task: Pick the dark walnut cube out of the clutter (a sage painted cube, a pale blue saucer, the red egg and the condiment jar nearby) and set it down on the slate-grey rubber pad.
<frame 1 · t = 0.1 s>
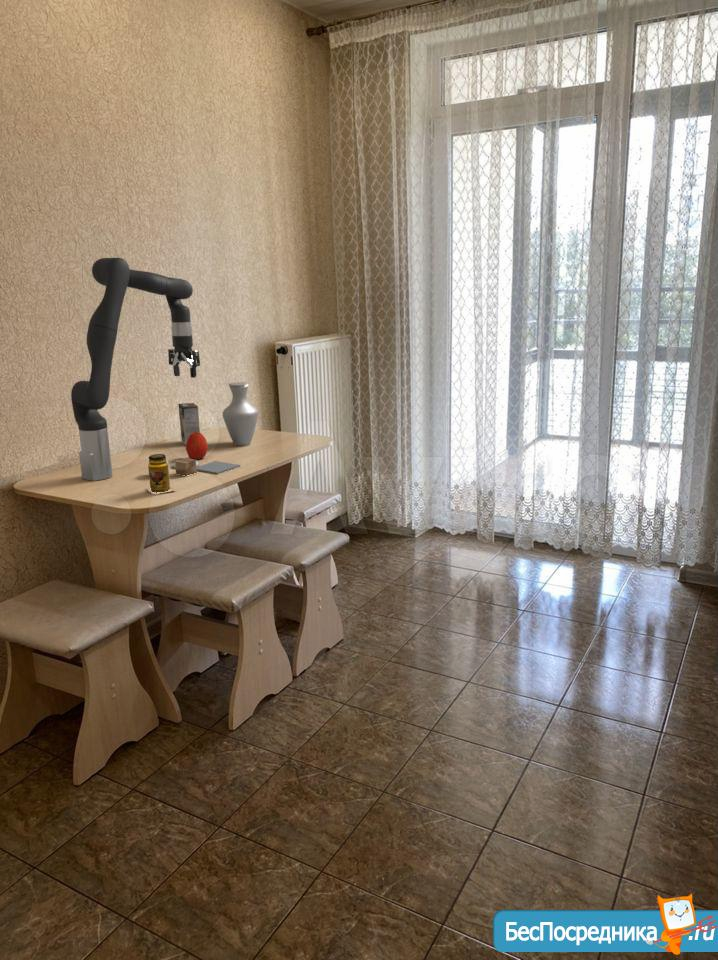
hand: (185, 376, 276), 29 cm above the table, fingers open, 8 cm apart
slate pad: (216, 468, 257), on the table
vase: (242, 444, 294), on the table
saucer: (186, 465, 261), on the table
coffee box: (191, 443, 296), on the table
walnut block: (186, 474, 250), on the table
sage block: (159, 475, 249), on the table
condiment: (160, 491, 231), on the table
red egg: (197, 459, 271), on the table
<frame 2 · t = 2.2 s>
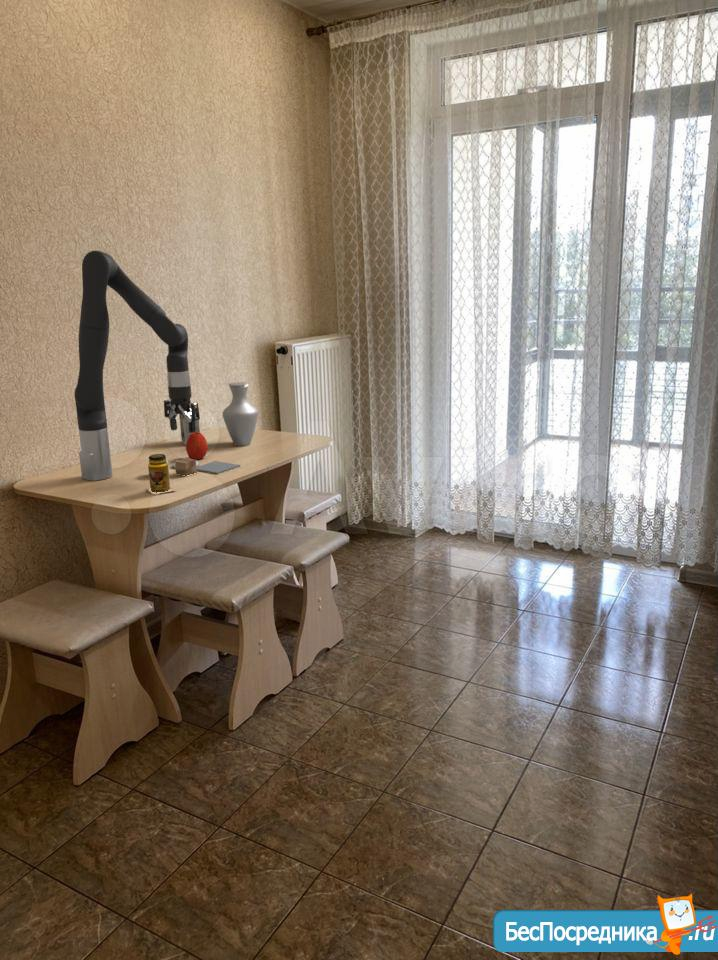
hand: (183, 431, 246), 15 cm above the table, fingers open, 8 cm apart
nothing on the table moved.
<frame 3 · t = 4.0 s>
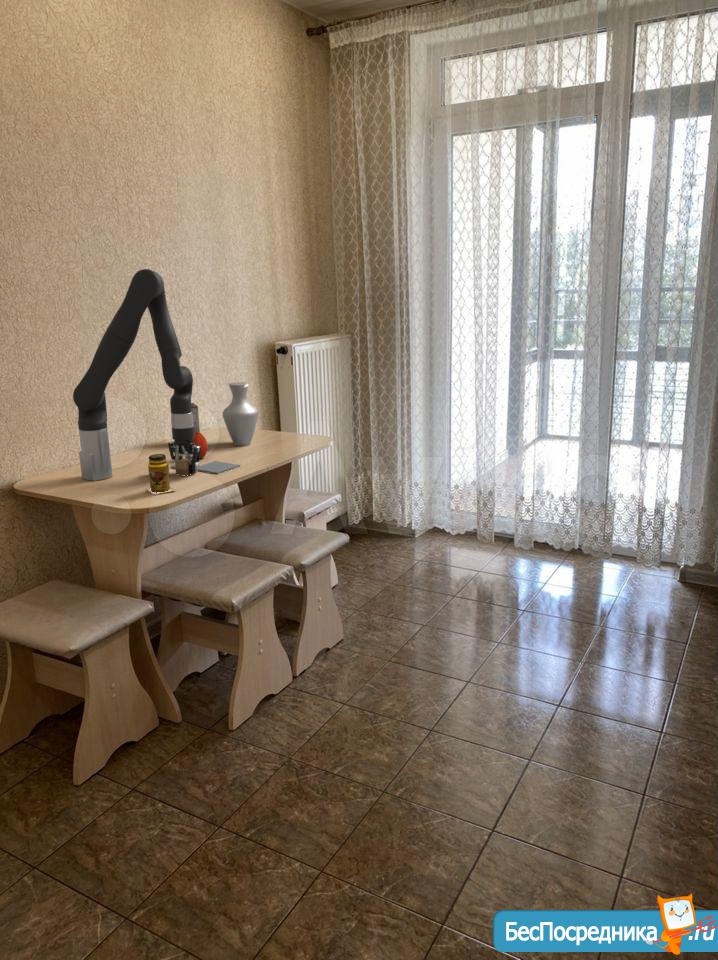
hand: (186, 472, 250), 0 cm above the table, fingers closed on walnut block, 5 cm apart
walnut block: (186, 474, 250), on the table, touching gripper
everything else where it was.
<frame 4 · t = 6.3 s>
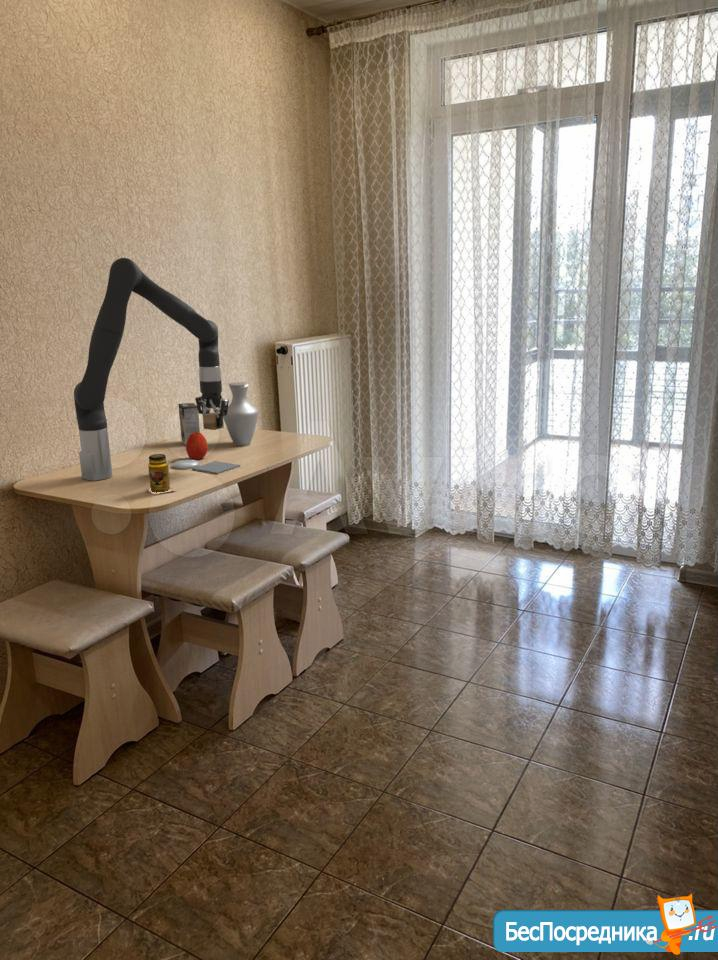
hand: (213, 426, 253), 15 cm above the table, fingers closed on walnut block, 5 cm apart
walnut block: (213, 428, 253), point 15 cm above the table, touching gripper
everything else where it was.
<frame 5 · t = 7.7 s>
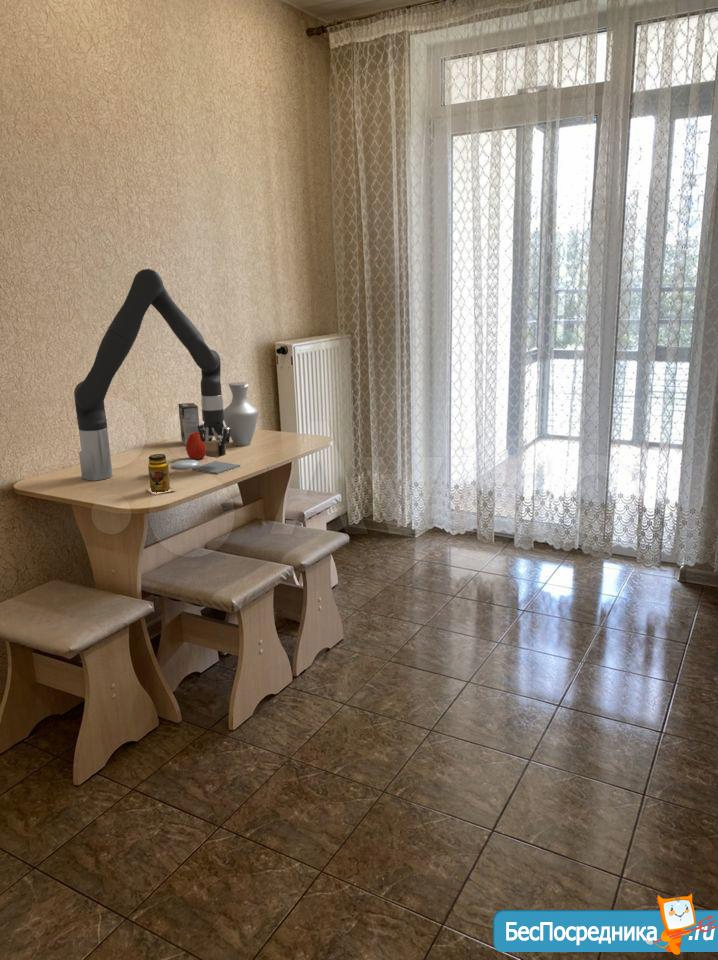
hand: (215, 454, 256), 5 cm above the table, fingers closed on walnut block, 5 cm apart
walnut block: (216, 455, 256), point 5 cm above the table, touching gripper
everything else where it was.
when the fingers open (2 cm above the table, at t = 8.6 s): walnut block drops 1 cm, resting on slate pad.
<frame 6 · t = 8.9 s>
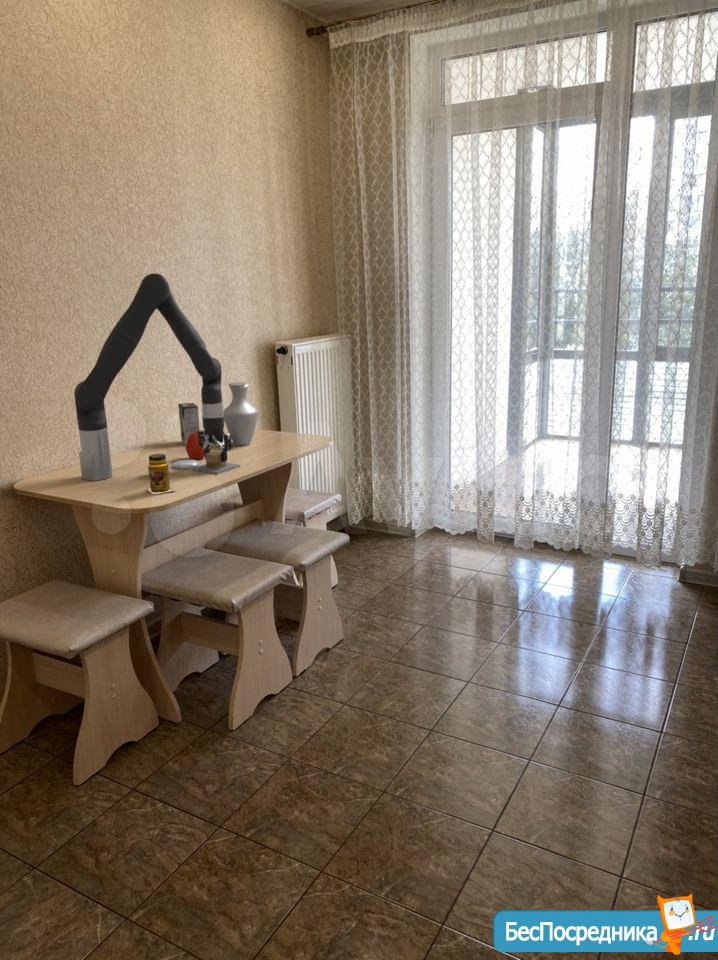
hand: (216, 460, 256), 3 cm above the table, fingers open, 7 cm apart
walnut block: (216, 466, 257), point 1 cm above the table, touching slate pad
everything else where it was.
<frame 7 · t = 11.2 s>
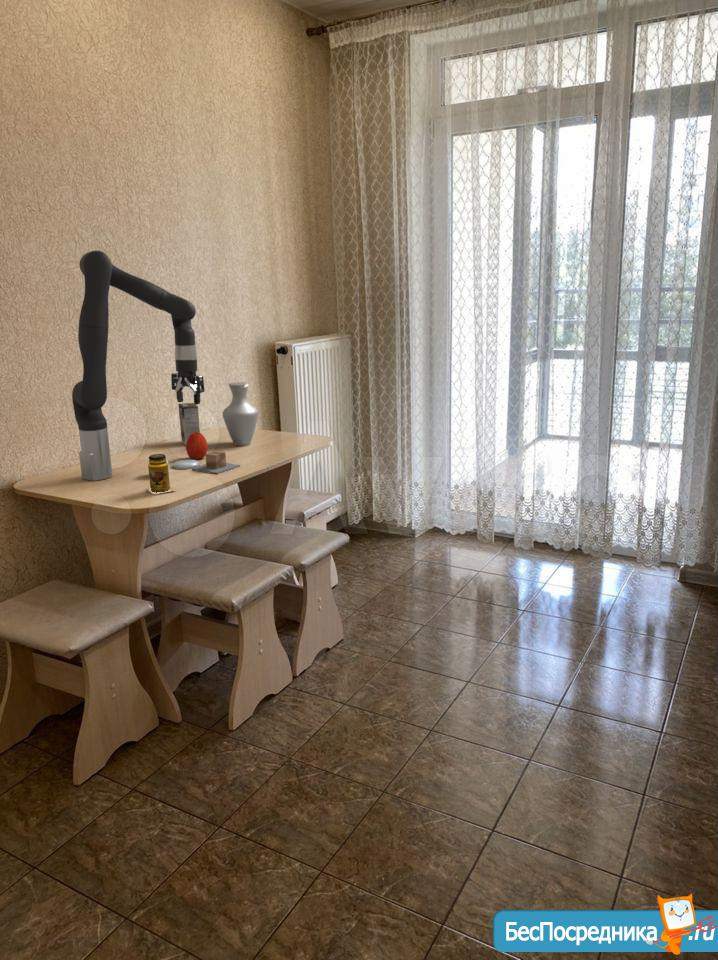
hand: (188, 403, 258), 23 cm above the table, fingers open, 8 cm apart
nothing on the table moved.
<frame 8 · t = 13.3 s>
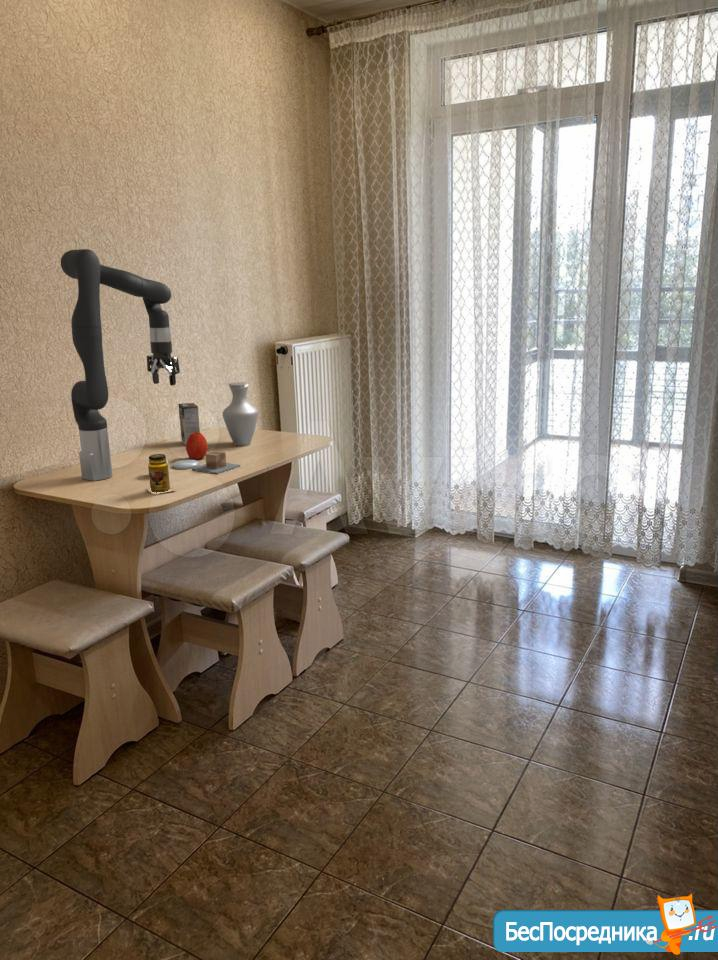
hand: (164, 384, 265), 28 cm above the table, fingers open, 8 cm apart
nothing on the table moved.
at the end: walnut block inside the target area on the slate pad (0.0 cm from its centre), point 0.6 cm above the slate pad's base; walnut block tilted 0°; the gripper is holding nothing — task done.
